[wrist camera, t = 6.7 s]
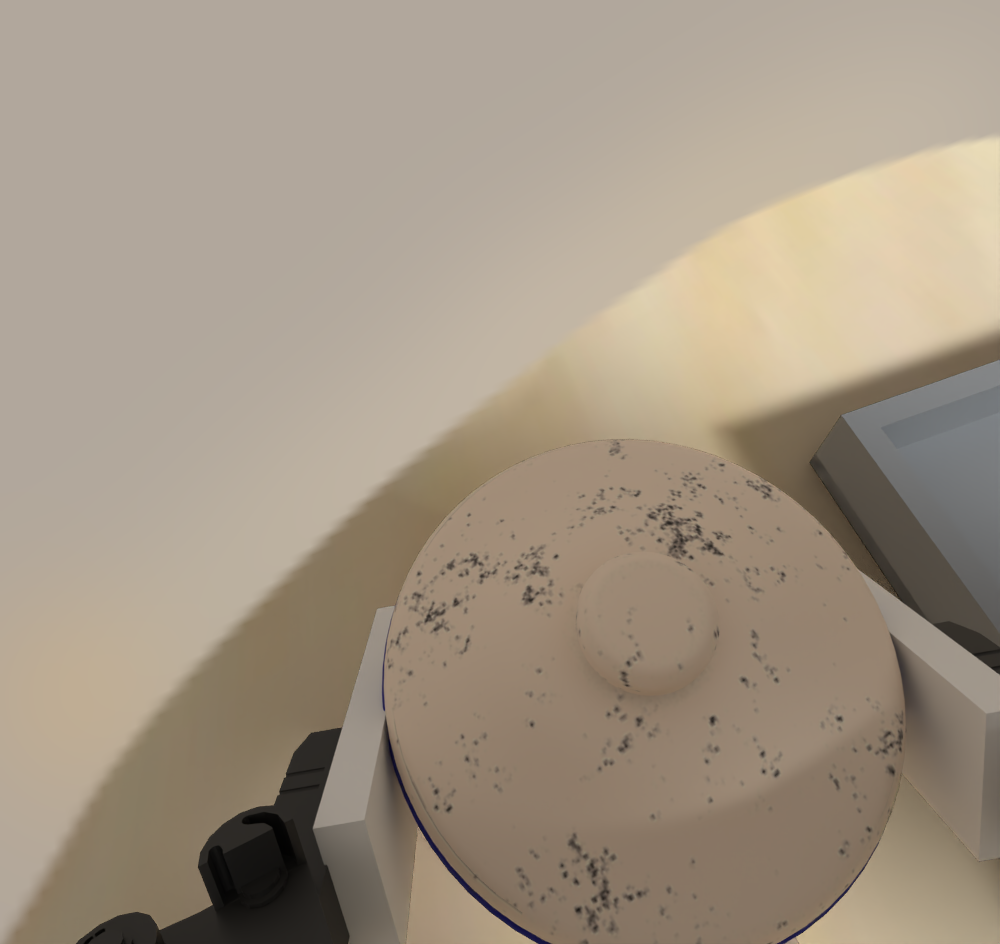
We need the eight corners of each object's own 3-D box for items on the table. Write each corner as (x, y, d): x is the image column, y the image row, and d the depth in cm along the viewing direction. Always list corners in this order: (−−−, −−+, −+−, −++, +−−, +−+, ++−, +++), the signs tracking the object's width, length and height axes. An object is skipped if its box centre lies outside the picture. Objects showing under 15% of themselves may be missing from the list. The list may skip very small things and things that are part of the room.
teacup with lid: (412, 643, 21) (261, 474, 11) (664, 532, 22) (751, 278, 12) (578, 1115, 15) (599, 1732, 5) (908, 936, 16) (1496, 1141, 6)
